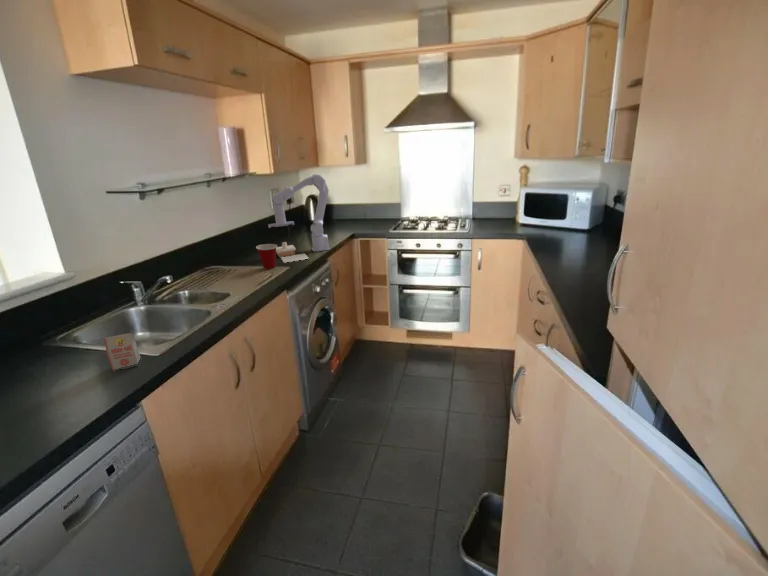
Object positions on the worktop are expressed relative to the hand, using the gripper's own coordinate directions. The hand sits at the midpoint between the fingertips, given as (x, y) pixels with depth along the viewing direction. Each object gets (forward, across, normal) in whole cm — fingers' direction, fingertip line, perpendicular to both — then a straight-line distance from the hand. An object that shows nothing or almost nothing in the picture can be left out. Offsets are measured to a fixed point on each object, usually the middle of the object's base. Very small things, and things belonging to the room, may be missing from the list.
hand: (283, 238), depth 235 cm
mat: (+10, -3, +13) cm, 17 cm away
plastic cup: (+10, +12, +25) cm, 29 cm away
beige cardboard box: (+10, +63, +112) cm, 129 cm away
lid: (+7, 0, 0) cm, 7 cm away
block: (+10, 0, 0) cm, 10 cm away
